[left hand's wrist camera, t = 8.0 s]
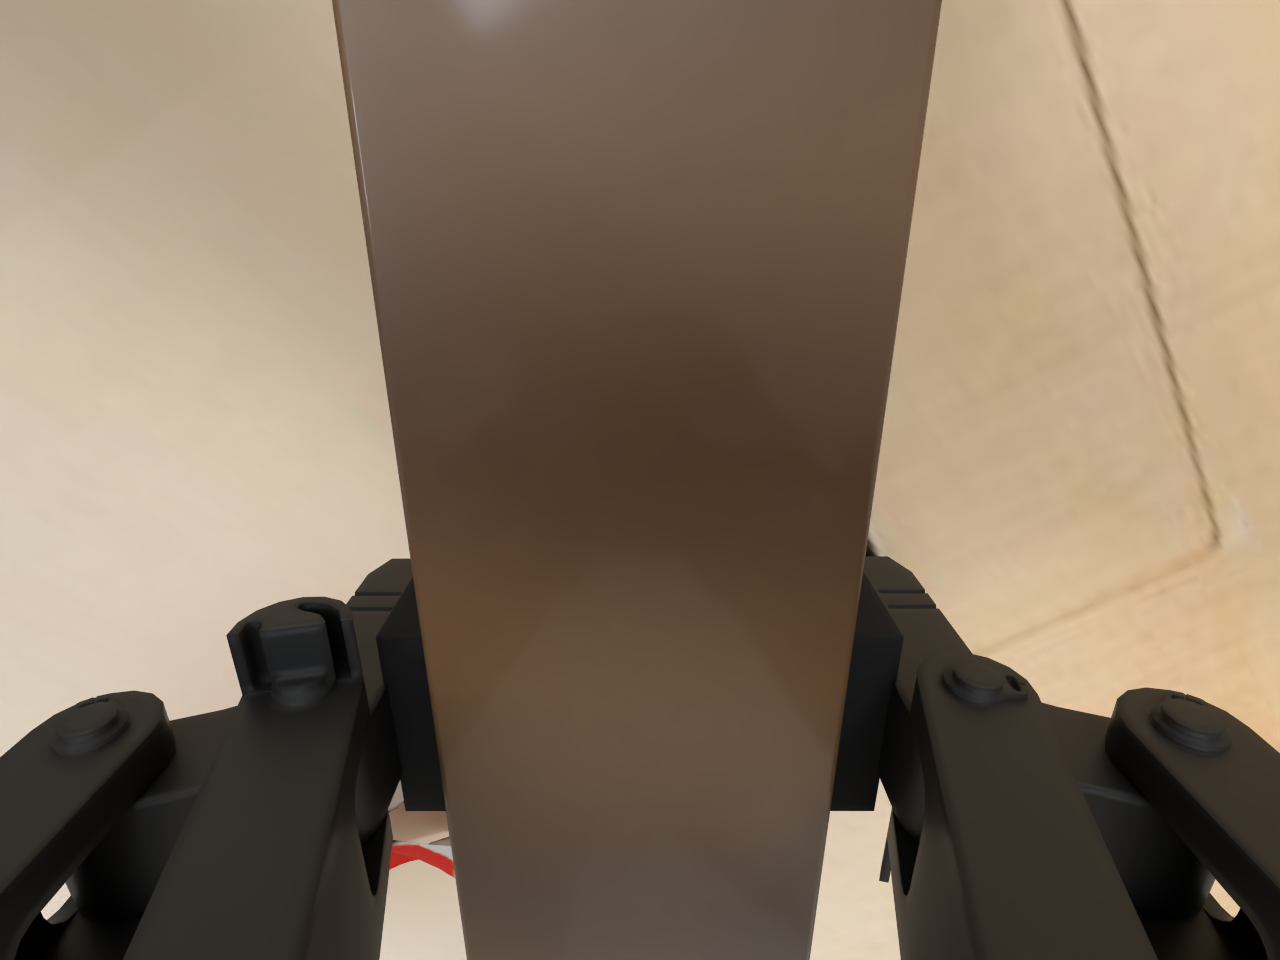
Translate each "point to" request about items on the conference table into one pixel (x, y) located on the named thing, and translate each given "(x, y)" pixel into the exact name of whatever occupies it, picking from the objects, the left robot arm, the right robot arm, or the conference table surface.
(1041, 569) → the conference table surface
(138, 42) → the conference table surface
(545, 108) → the bar
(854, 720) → the left robot arm
